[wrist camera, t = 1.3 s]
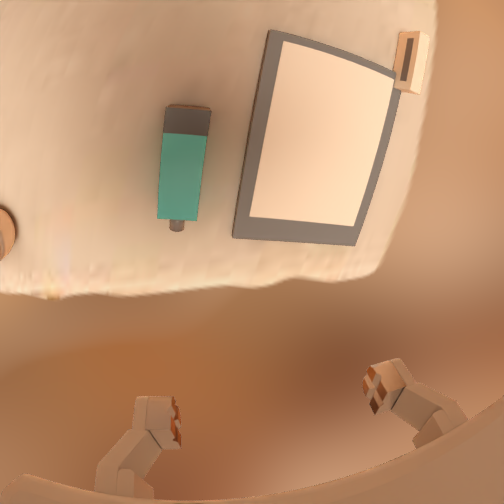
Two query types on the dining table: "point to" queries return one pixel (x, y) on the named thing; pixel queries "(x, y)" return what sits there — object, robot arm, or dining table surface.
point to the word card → (410, 61)
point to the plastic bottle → (6, 233)
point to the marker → (182, 163)
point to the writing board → (314, 143)
